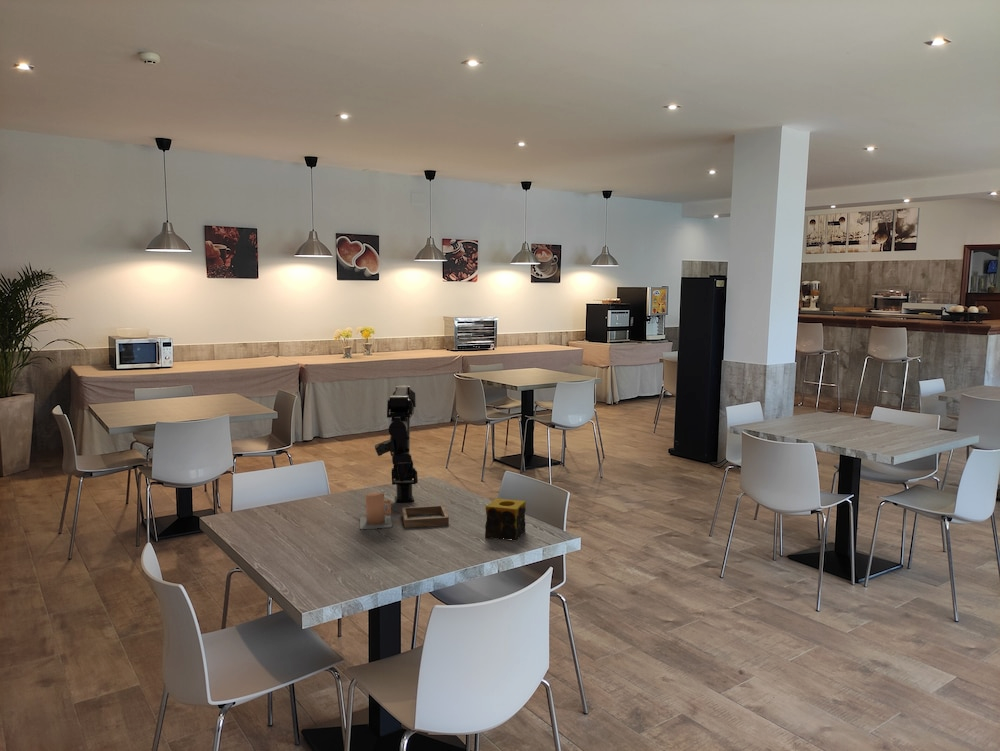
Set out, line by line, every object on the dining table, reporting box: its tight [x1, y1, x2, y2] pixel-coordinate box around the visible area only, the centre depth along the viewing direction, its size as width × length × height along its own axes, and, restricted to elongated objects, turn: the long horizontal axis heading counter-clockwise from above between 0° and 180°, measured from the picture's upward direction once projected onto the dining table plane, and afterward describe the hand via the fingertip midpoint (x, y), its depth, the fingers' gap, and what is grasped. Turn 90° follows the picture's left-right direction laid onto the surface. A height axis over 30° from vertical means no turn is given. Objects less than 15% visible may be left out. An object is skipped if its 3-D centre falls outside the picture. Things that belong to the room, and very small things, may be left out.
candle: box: [484, 498, 527, 541], centre depth 222 cm, size 10×10×10 cm
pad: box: [359, 514, 393, 531], centre depth 234 cm, size 12×10×1 cm
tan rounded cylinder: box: [364, 491, 392, 525], centre depth 234 cm, size 6×8×9 cm
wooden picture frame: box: [401, 504, 450, 529], centre depth 237 cm, size 14×14×2 cm
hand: (400, 477), depth 245 cm, fingers open, 9 cm apart
